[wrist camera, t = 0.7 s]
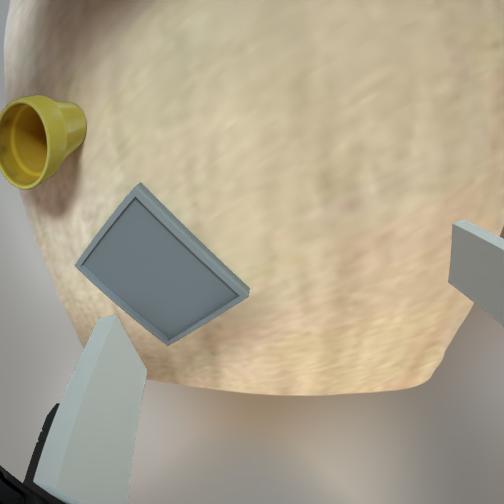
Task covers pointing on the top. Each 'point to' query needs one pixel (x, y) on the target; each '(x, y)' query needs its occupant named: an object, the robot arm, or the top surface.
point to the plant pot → (38, 138)
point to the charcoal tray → (159, 269)
